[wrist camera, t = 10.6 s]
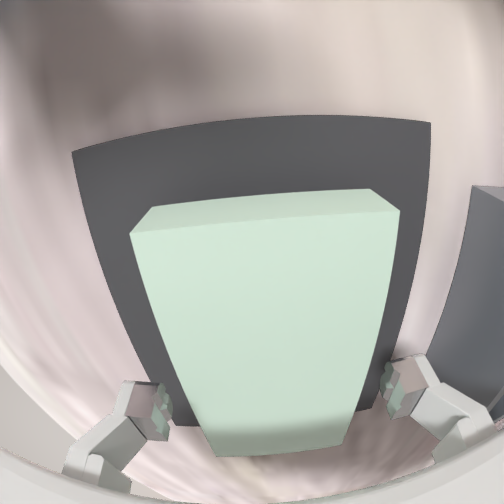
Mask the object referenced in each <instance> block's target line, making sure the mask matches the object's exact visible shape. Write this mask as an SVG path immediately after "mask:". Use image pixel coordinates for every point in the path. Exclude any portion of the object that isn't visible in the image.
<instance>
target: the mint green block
mask: <svg viewBox="0 0 504 504" xmlns="http://www.w3.org/2000/svg"><path fill="white" fill-rule="evenodd" d="M399 216H400V210H398V209H397V208H396V207H394V206H393V205H392V204H390V203H389V202H388V201H386V200H385V199H383V198H382V197H381V196H379V195H378V194H376V193H375V192H374V191H372V190H371V189H348V190H326V191H308V192H292V193H278V194H265V195H253V196H242V197H231V198H221V199H212V200H203V201H194V202H186V203H177V204H170V205H162V206H154V207H152V208H151V209H150V210H149V211H148V212H147V213H146V215H145V216H144V217H143V218H142V219H141V220H140V222H139V223H138V224H137V225H136V226H135V227H134V229H133V230H132V231H131V232H130V233H129V234H130V238H131V242H132V245H133V249H134V253H135V256H136V260H137V263H138V267H139V270H140V273H141V277H142V280H143V283H144V286H145V289H146V293H147V296H148V299H149V302H150V305H151V308H152V311H153V313H154V316H155V319H156V322H157V325H158V328H159V330H160V333H161V336H162V338H163V341H164V344H165V346H166V349H167V351H168V354H169V357H170V359H171V362H172V364H173V366H174V369H175V371H176V374H177V376H178V378H179V381H180V383H181V385H182V388H183V390H184V392H185V394H186V397H187V399H188V401H189V403H190V405H191V408H192V410H193V412H194V414H195V416H196V418H197V420H198V422H199V424H200V426H201V428H202V430H203V432H204V434H205V436H206V438H207V440H208V442H209V444H210V446H211V448H212V450H213V452H214V454H215V455H216V457H234V456H259V455H273V454H284V453H293V452H301V451H308V450H315V449H321V448H327V447H333V446H338V445H341V444H342V442H343V440H344V437H345V435H346V432H347V430H348V427H349V424H350V422H351V419H352V417H353V414H354V411H355V408H356V406H357V403H358V400H359V397H360V394H361V391H362V388H363V385H364V382H365V379H366V376H367V372H368V369H369V366H370V362H371V359H372V356H373V352H374V348H375V345H376V341H377V337H378V333H379V329H380V325H381V321H382V317H383V312H384V308H385V303H386V298H387V294H388V289H389V283H390V278H391V272H392V267H393V261H394V254H395V247H396V240H397V233H398V225H399Z"/></svg>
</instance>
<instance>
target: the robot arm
mask: <svg viewBox="0 0 504 504" xmlns="http://www.w3.org/2000/svg"><path fill="white" fill-rule="evenodd" d="M384 369H385V371H386V372H385V373H384V374H383V375H382V376H381V379H380V391H381V394H382V397H383V398H384V399H385V400H387V401H388V403H387V406H386V408H387V410H388V413H389V416H390V418H391V420H393V419H397V418H401V417H405V416H408V415H410V416H411V417H412V418H413V419H414V420H416V421H417V422H418V423H419V424H420V425H422V426H423V427H424V428H425V429H426V430H428V431H429V432H430V433H431V434H432V435H434V436H435V437H436V438H437V439H438V440H440V442H439V443H438V445H437V446H436V447H435V448H434V449H433V450H432V455H433V458H434V461H435V464H434V465H432V466H429V467H427V468H424V469H422V470H419V471H417V472H414V473H411V474H409V475H406V476H403V477H400V478H397V479H394V480H391V481H388V482H385V483H381V484H378V485H374V486H371V487H367V488H363V489H359V490H355V491H351V492H347V493H342V494H337V495H332V496H327V497H321V498H315V499H308V500H301V501H292V502H283V503H270V504H504V428H502V429H501V430H499V431H498V430H497V428H496V426H495V424H494V422H493V420H492V419H491V417H490V415H489V413H488V411H487V409H486V407H485V406H483V405H481V404H479V403H478V402H476V401H474V400H473V399H471V398H469V397H468V396H466V395H464V394H462V393H461V392H459V391H457V390H456V389H454V388H452V387H451V386H449V385H447V384H446V383H444V382H443V383H440V381H439V379H438V377H437V376H436V374H435V372H434V370H433V368H432V367H431V365H430V363H429V361H428V360H427V358H426V356H425V355H424V354H423V353H420V354H416V355H413V356H407V357H404V358H400V359H396V360H392V361H388V362H387V363H386V365H385V367H384ZM165 390H166V388H165V386H164V384H163V383H154V382H140V381H127V380H125V381H124V382H123V383H122V385H121V388H120V391H119V394H118V397H117V400H116V403H115V406H114V409H113V412H112V414H108V415H107V416H106V417H105V418H103V419H102V420H101V421H100V422H99V423H98V424H96V425H95V426H94V427H93V428H92V429H91V430H89V431H88V432H87V433H86V434H85V435H83V436H82V437H81V438H80V439H79V440H77V441H76V442H75V443H74V444H73V445H71V447H70V448H69V451H68V454H67V458H66V461H65V464H64V467H63V470H62V474H60V473H57V472H55V471H52V470H50V469H47V468H45V467H42V466H40V465H38V464H35V463H33V462H31V461H29V460H27V459H25V458H23V457H20V456H18V455H16V454H14V453H13V452H11V451H8V450H7V449H5V448H2V447H0V504H199V503H187V502H177V501H169V500H162V499H155V498H149V497H143V496H138V495H132V494H130V489H131V483H132V481H131V480H130V478H128V477H127V476H126V475H124V474H123V473H122V472H121V471H122V470H123V469H124V468H125V466H126V465H127V464H128V463H129V462H130V461H131V459H132V458H133V457H134V456H135V455H136V454H137V453H138V451H139V450H140V449H141V448H142V447H143V446H144V444H145V443H146V442H147V440H154V441H168V436H169V430H170V426H169V425H168V423H167V422H168V421H169V420H170V419H171V418H172V412H173V404H172V400H171V397H170V395H168V394H167V393H165Z"/></svg>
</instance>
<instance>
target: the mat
mask: <svg viewBox="0 0 504 504" xmlns="http://www.w3.org/2000/svg"><path fill="white" fill-rule="evenodd" d="M430 146H431V123H430V122H423V121H415V120H406V119H396V118H384V117H369V116H346V115H297V116H273V117H258V118H245V119H235V120H225V121H216V122H208V123H201V124H194V125H187V126H181V127H175V128H169V129H164V130H158V131H153V132H148V133H143V134H138V135H134V136H129V137H125V138H121V139H116V140H112V141H108V142H105V143H101V144H97V145H93V146H90V147H86V148H83V149H79V150H76V151H73V152H72V158H73V163H74V168H75V173H76V178H77V182H78V187H79V191H80V195H81V199H82V203H83V207H84V211H85V215H86V219H87V222H88V226H89V229H90V233H91V236H92V239H93V243H94V246H95V249H96V252H97V255H98V258H99V261H100V264H101V267H102V270H103V273H104V276H105V279H106V282H107V284H108V287H109V290H110V292H111V295H112V297H113V300H114V303H115V305H116V308H117V310H118V313H119V315H120V317H121V320H122V322H123V324H124V327H125V329H126V331H127V334H128V336H129V338H130V340H131V342H132V345H133V347H134V349H135V351H136V353H137V355H138V357H139V359H140V361H141V363H142V365H143V367H144V369H145V371H146V373H147V375H148V377H149V379H150V381H151V382H154V383H163V384H164V386H165V388H166V390H165V393H167V394H168V395H170V397H171V400H172V404H173V412H172V418H171V419H172V420H173V422H174V424H175V425H176V426H200V424H199V422H198V420H197V418H196V416H195V414H194V412H193V410H192V408H191V405H190V403H189V401H188V399H187V397H186V394H185V392H184V390H183V388H182V385H181V383H180V381H179V378H178V376H177V374H176V371H175V369H174V366H173V364H172V362H171V359H170V357H169V354H168V351H167V349H166V346H165V344H164V341H163V338H162V336H161V333H160V330H159V328H158V325H157V322H156V319H155V316H154V313H153V311H152V308H151V305H150V302H149V299H148V296H147V293H146V289H145V286H144V283H143V280H142V277H141V273H140V270H139V267H138V263H137V260H136V256H135V253H134V249H133V245H132V242H131V238H130V234H129V233H130V232H131V231H132V230H133V229H134V227H135V226H136V225H137V224H138V223H139V222H140V220H141V219H142V218H143V217H144V216H145V215H146V213H147V212H148V211H149V210H150V209H151V208H152V207H154V206H162V205H170V204H177V203H186V202H194V201H203V200H212V199H221V198H231V197H242V196H253V195H265V194H278V193H292V192H308V191H326V190H348V189H371V190H372V191H374V192H375V193H376V194H378V195H379V196H381V197H382V198H383V199H385V200H386V201H388V202H389V203H390V204H392V205H393V206H394V207H396V208H397V209H398V210H400V216H399V225H398V233H397V240H396V247H395V254H394V261H393V267H392V272H391V278H390V283H389V289H388V294H387V298H386V303H385V308H384V312H383V317H382V321H381V325H380V329H379V333H378V337H377V341H376V345H375V348H374V352H373V356H372V359H371V362H370V366H369V369H368V372H367V376H366V379H365V382H364V385H363V388H362V391H361V394H360V397H359V400H358V403H357V406H356V408H355V411H354V412H357V411H361V410H366V409H370V408H372V405H373V403H374V401H375V398H376V396H377V393H378V391H379V389H380V379H381V376H382V375H383V374H384V373H385V372H386V371H385V369H384V367H385V365H386V363H387V362H388V361H390V359H391V356H392V353H393V350H394V347H395V344H396V341H397V338H398V335H399V331H400V328H401V325H402V321H403V318H404V314H405V310H406V307H407V303H408V299H409V295H410V291H411V287H412V283H413V278H414V274H415V269H416V264H417V259H418V254H419V248H420V243H421V237H422V231H423V224H424V217H425V209H426V201H427V191H428V181H429V167H430ZM200 427H201V426H200Z"/></svg>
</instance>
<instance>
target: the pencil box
mask: <svg viewBox="0 0 504 504" xmlns="http://www.w3.org/2000/svg"><path fill="white" fill-rule="evenodd" d="M426 358H427V360H428V361H429V363H430V365H431V367H432V368H433V370H434V372H435V374H436V376H437V377H438V379H439V381H440V383H443V382H444V383H446V384H447V385H449V386H451V387H452V388H454V389H456V390H457V391H459V392H461V393H462V394H464V395H466V396H468V397H469V398H471V399H473V400H474V401H476V402H478V403H479V404H481V405H483V406H485V407H486V409H487V411H488V413H489V415H490V417H491V419H492V420H493V422H494V424H495V423H496V422H498V421H500V420H501V419H503V418H504V187H492V186H473V185H472V192H471V200H470V206H469V212H468V218H467V224H466V229H465V234H464V239H463V243H462V248H461V252H460V256H459V260H458V264H457V268H456V271H455V275H454V279H453V282H452V285H451V289H450V292H449V295H448V298H447V301H446V304H445V307H444V310H443V313H442V316H441V319H440V322H439V324H438V327H437V330H436V332H435V335H434V337H433V340H432V342H431V345H430V347H429V349H428V352H427V354H426Z"/></svg>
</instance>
